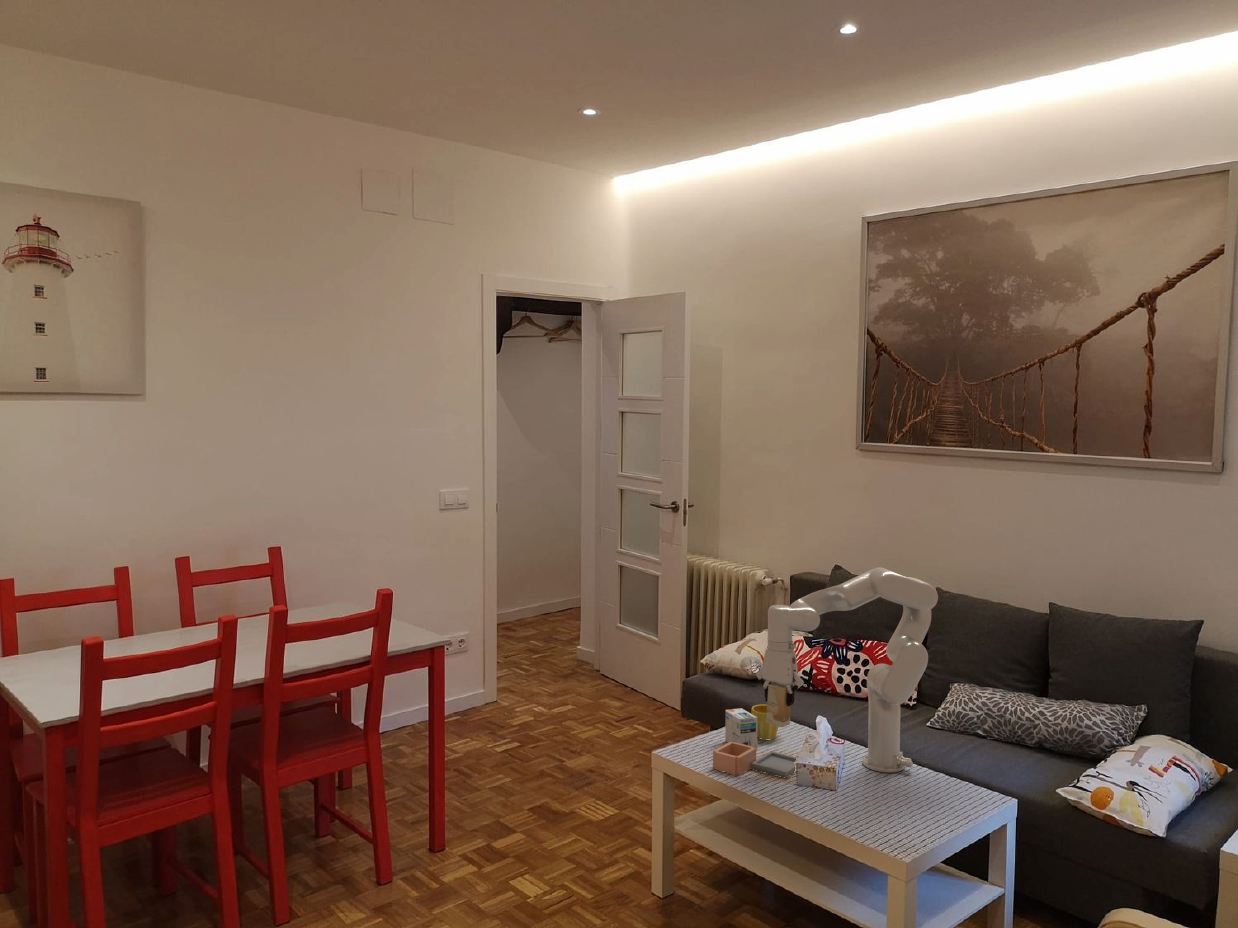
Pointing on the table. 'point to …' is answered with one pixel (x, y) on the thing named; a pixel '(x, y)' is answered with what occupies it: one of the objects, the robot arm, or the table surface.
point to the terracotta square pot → (734, 758)
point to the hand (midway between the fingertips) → (779, 702)
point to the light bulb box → (741, 727)
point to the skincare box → (778, 705)
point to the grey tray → (775, 764)
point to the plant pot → (763, 723)
